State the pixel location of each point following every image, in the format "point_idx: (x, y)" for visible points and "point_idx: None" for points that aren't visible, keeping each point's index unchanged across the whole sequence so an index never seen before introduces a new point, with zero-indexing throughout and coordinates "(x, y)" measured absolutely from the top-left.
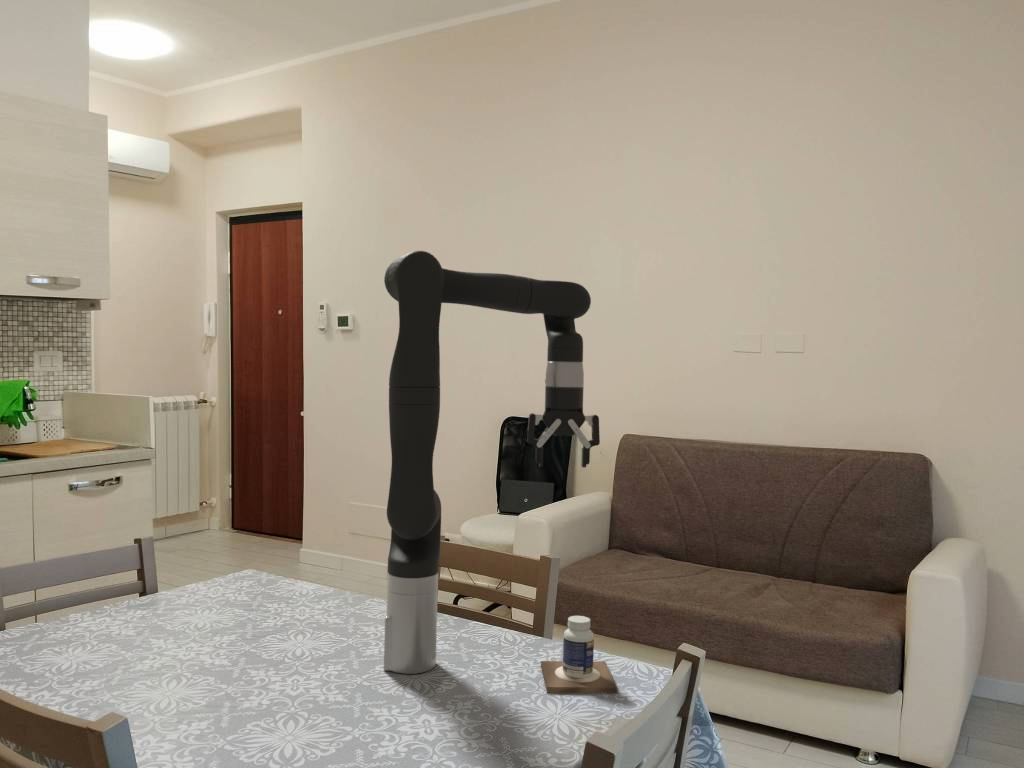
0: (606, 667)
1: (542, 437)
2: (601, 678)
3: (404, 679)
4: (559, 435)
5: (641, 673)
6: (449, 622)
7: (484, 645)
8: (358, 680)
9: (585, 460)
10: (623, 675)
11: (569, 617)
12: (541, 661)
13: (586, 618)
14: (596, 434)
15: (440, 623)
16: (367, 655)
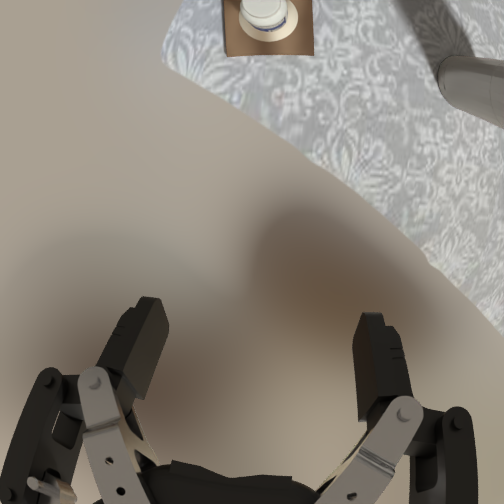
0: (227, 38)
1: (392, 459)
2: (238, 5)
3: (463, 46)
4: (263, 479)
5: (186, 44)
6: (407, 214)
7: (379, 131)
8: (498, 58)
9: (134, 318)
10: (208, 34)
11: (277, 6)
12: (313, 53)
13: (248, 4)
14: (32, 417)
15: (417, 212)
16: None
